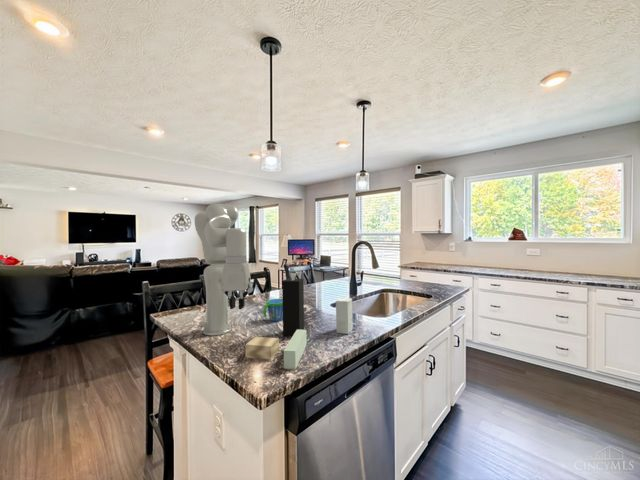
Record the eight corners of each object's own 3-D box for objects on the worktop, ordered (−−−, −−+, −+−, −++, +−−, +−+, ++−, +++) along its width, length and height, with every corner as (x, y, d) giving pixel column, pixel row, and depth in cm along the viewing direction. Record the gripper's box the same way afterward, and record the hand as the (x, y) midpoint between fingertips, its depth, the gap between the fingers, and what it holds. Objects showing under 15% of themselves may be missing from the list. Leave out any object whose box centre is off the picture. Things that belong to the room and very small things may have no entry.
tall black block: (299, 337, 118) (298, 273, 118) (282, 336, 119) (281, 273, 119) (304, 331, 125) (303, 271, 125) (288, 330, 127) (287, 271, 127)
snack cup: (268, 325, 135) (268, 305, 135) (258, 320, 143) (258, 301, 143) (294, 319, 145) (293, 300, 145) (283, 314, 153) (283, 297, 153)
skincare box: (348, 334, 120) (348, 301, 120) (335, 333, 123) (335, 300, 122) (353, 328, 128) (352, 297, 128) (341, 327, 130) (340, 297, 130)
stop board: (283, 368, 90) (283, 350, 90) (297, 343, 110) (296, 329, 110) (295, 369, 89) (295, 351, 89) (306, 344, 110) (306, 329, 110)
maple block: (245, 358, 98) (245, 344, 98) (255, 349, 106) (255, 336, 106) (271, 360, 96) (270, 346, 96) (279, 351, 104) (278, 338, 104)
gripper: (211, 261, 100) (211, 310, 100) (253, 261, 98) (253, 311, 98) (221, 259, 107) (221, 305, 107) (260, 259, 105) (260, 306, 105)
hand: (237, 307), depth 103 cm, fingers open, 2 cm apart
